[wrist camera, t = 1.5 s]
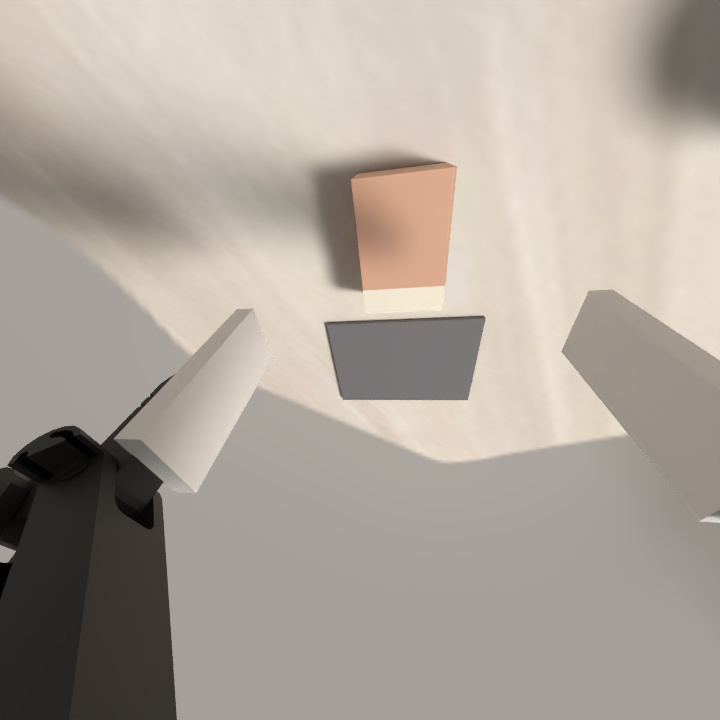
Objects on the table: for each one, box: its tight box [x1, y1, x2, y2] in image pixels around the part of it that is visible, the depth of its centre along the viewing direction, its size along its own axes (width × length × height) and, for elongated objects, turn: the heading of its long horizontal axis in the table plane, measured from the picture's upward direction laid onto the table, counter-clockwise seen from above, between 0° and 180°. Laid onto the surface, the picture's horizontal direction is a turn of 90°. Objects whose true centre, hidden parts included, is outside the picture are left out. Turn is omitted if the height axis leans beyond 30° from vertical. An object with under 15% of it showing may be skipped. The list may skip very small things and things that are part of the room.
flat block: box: [351, 162, 457, 314], centre depth 20 cm, size 9×6×4 cm, turn 6°
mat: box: [327, 316, 485, 400], centre depth 29 cm, size 11×15×1 cm
